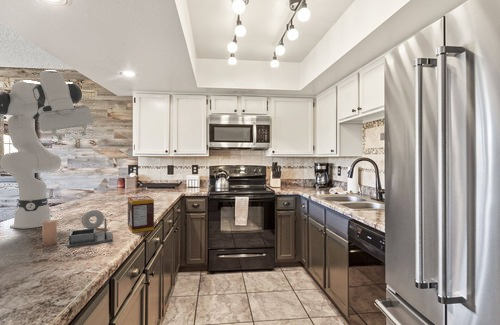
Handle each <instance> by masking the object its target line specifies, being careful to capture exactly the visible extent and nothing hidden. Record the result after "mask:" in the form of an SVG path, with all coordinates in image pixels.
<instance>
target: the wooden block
mask: <svg viewBox="0 0 500 325" xmlns="http://www.w3.org/2000/svg"><path fill="white" fill-rule="evenodd" d="M57 222H58V220H57V219H54V220H48V221H43V222H42V226H41V228H42V229H41V231H42V232H41V233H42V235H41V237H42V246H43V247H49V246H53V244H54V245H56V244H57V243H58V230H57V228H58V223H57ZM48 245H49V246H48Z"/></svg>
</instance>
